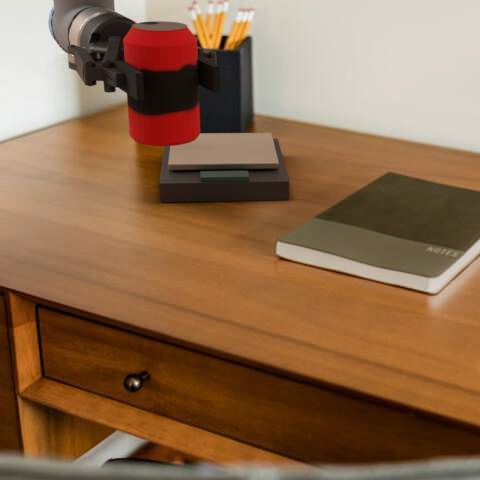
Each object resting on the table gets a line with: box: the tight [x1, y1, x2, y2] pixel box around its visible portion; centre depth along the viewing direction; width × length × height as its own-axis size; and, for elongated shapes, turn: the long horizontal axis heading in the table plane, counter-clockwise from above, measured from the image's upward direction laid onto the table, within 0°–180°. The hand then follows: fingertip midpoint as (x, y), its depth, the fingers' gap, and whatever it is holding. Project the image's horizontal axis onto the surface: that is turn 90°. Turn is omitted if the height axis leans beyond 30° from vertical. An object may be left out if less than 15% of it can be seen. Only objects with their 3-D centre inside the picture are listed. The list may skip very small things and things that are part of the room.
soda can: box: [123, 20, 201, 147], centre depth 96 cm, size 8×8×12 cm
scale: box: [158, 138, 290, 203], centre depth 121 cm, size 16×19×3 cm
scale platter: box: [168, 132, 279, 170], centre depth 121 cm, size 14×14×1 cm
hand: (179, 83), depth 92 cm, fingers closed on soda can, 8 cm apart
